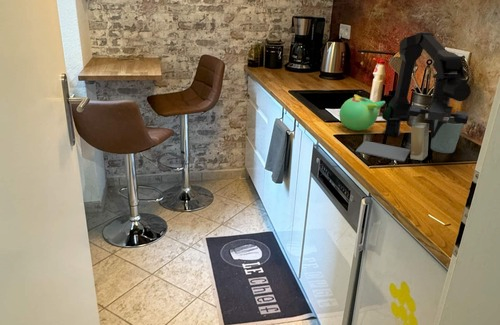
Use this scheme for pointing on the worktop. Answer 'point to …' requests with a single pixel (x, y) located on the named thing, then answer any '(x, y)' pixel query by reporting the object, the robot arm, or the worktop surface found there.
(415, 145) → the skincare box
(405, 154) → the mat
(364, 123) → the green teapot
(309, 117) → the worktop surface
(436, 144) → the grey cup
